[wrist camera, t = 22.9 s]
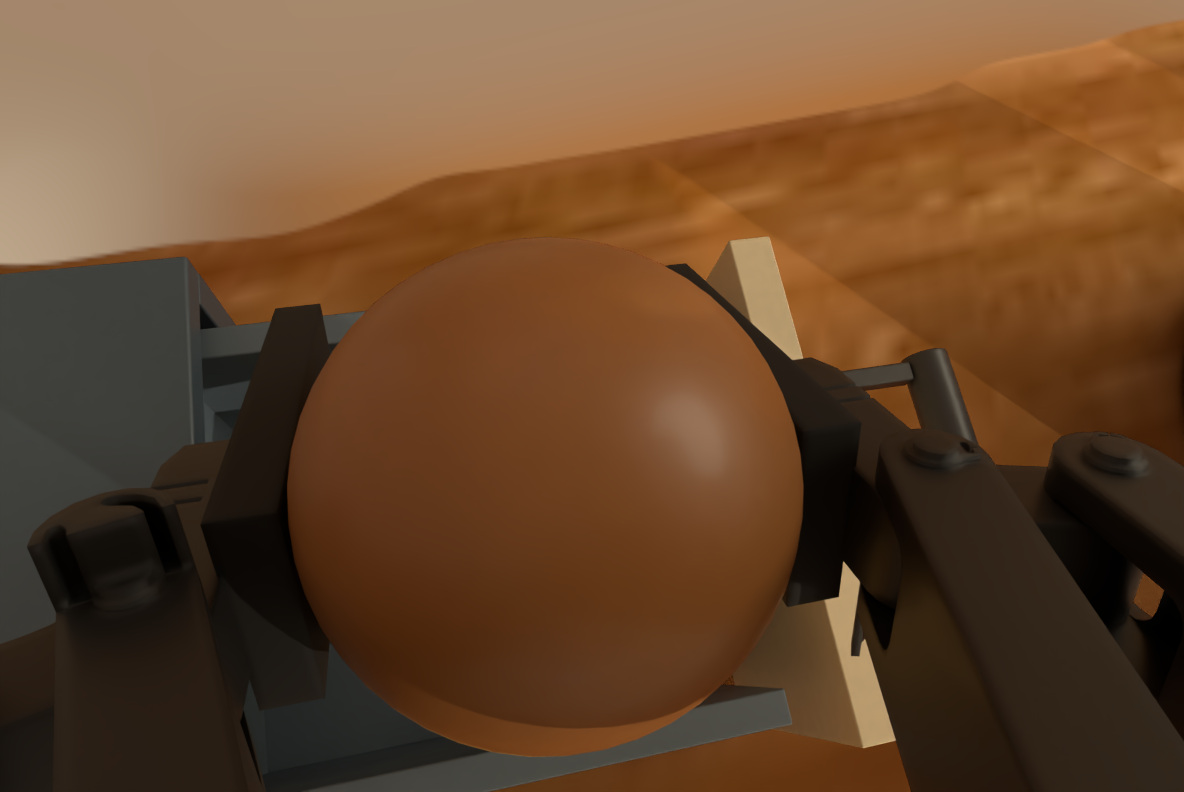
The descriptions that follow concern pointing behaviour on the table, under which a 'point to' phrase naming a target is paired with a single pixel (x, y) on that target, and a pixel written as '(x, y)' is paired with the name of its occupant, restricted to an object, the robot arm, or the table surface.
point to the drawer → (755, 703)
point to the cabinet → (91, 398)
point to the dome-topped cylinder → (545, 497)
